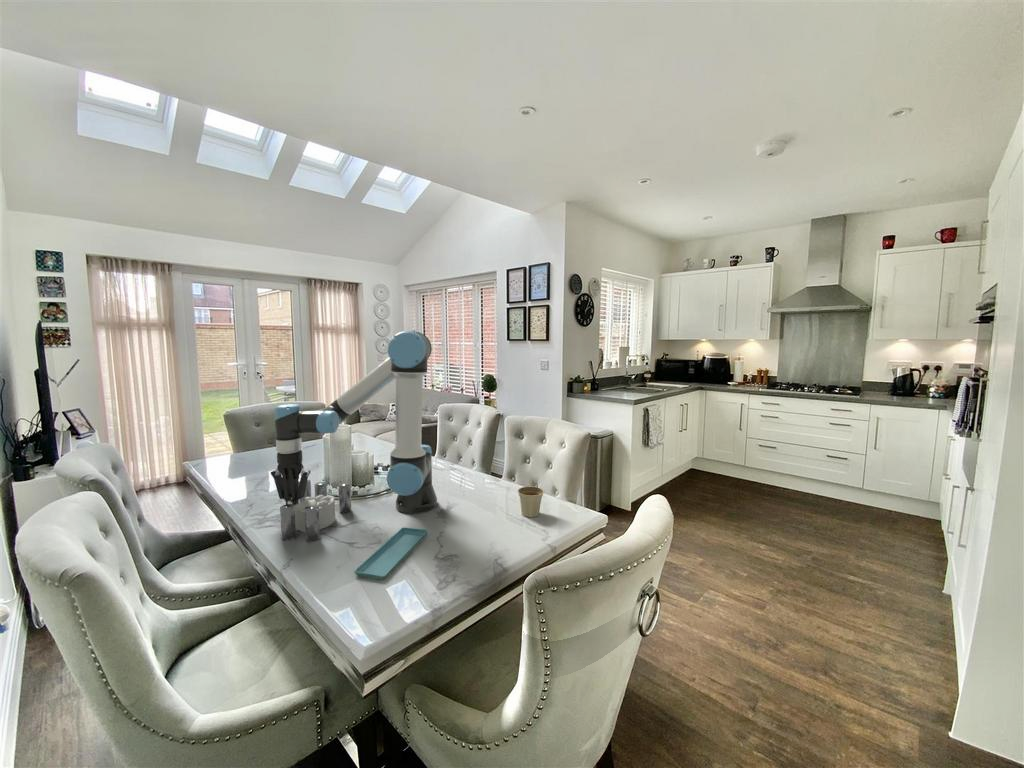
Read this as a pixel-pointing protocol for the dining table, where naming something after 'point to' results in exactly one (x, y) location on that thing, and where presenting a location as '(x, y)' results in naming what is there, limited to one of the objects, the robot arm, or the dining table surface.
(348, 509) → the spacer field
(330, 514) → the lumpy-topped squat cylinder
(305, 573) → the dining table surface
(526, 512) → the flower pot
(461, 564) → the dining table surface
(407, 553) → the rectangular tray
